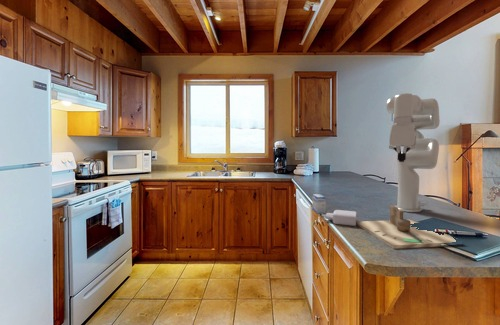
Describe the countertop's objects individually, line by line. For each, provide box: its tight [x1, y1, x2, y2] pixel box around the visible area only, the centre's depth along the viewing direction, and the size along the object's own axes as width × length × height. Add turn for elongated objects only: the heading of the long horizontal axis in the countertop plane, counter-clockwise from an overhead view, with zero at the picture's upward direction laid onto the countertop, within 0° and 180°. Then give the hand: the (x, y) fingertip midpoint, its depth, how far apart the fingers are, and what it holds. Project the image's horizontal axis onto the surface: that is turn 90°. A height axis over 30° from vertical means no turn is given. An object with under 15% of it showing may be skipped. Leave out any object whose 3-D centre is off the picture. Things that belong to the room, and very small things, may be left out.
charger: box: [320, 209, 357, 227], centre depth 118 cm, size 5×9×15 cm
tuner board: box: [356, 219, 456, 250], centre depth 101 cm, size 26×26×1 cm
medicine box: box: [311, 193, 327, 215], centre depth 134 cm, size 8×4×9 cm, turn 5°
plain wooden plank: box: [389, 204, 422, 242], centre depth 101 cm, size 24×4×7 cm, turn 174°
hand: (401, 161), depth 118 cm, fingers closed
